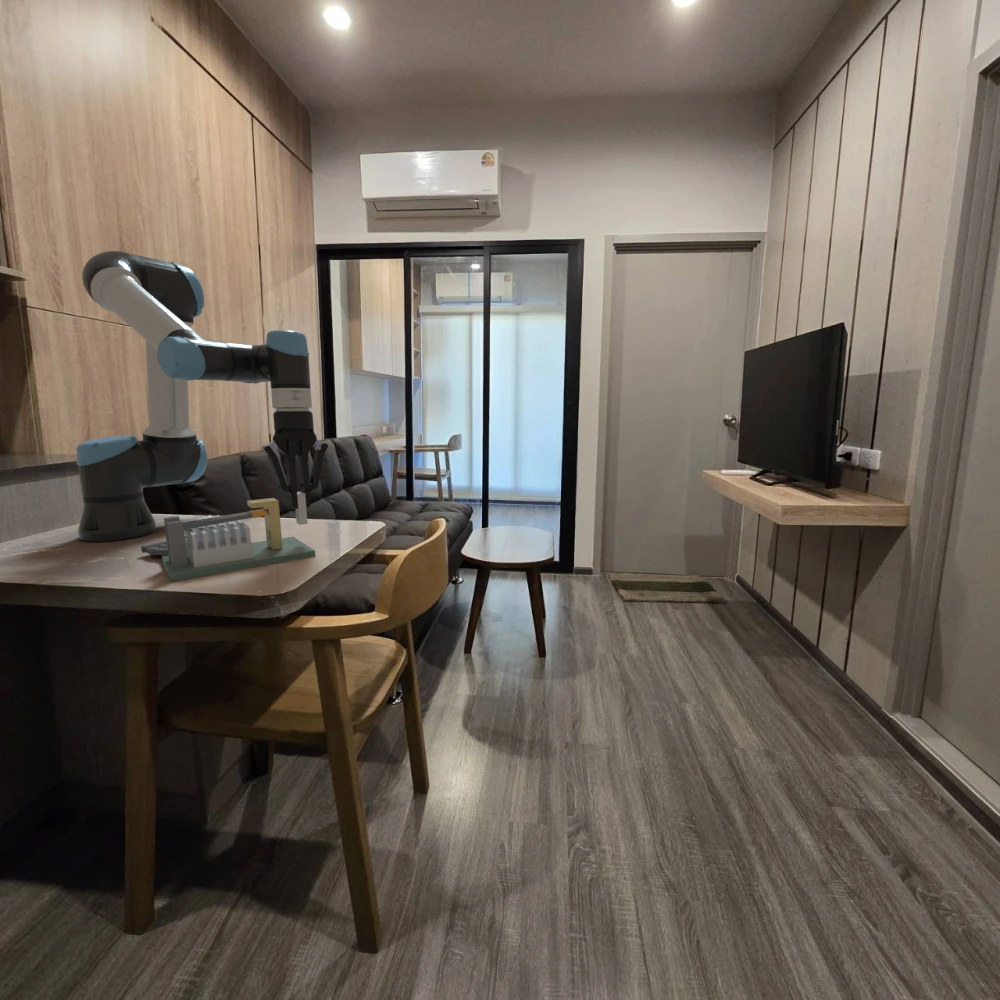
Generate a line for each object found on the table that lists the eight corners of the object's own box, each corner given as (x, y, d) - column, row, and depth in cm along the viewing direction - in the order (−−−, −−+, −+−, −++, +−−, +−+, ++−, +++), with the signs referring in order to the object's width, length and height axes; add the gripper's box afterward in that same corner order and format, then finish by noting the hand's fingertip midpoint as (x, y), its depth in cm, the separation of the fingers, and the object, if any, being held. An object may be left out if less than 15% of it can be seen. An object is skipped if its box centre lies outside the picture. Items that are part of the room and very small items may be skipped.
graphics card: (207, 525, 121) (241, 528, 116) (209, 540, 122) (243, 544, 116) (129, 542, 107) (164, 547, 101) (132, 560, 107) (167, 566, 102)
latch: (251, 548, 106) (247, 500, 105) (277, 544, 109) (273, 497, 108) (256, 552, 103) (251, 503, 102) (282, 548, 106) (278, 500, 105)
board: (162, 562, 102) (156, 514, 100) (293, 541, 117) (290, 500, 115) (170, 581, 90) (164, 528, 88) (315, 556, 105) (312, 510, 103)
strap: (169, 530, 97) (167, 523, 97) (263, 514, 107) (262, 507, 106) (171, 533, 94) (169, 526, 94) (267, 516, 104) (266, 509, 104)
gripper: (263, 410, 99) (273, 530, 103) (330, 409, 107) (338, 521, 111) (254, 410, 105) (264, 524, 109) (319, 410, 112) (326, 516, 117)
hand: (301, 523), depth 110 cm, fingers closed
